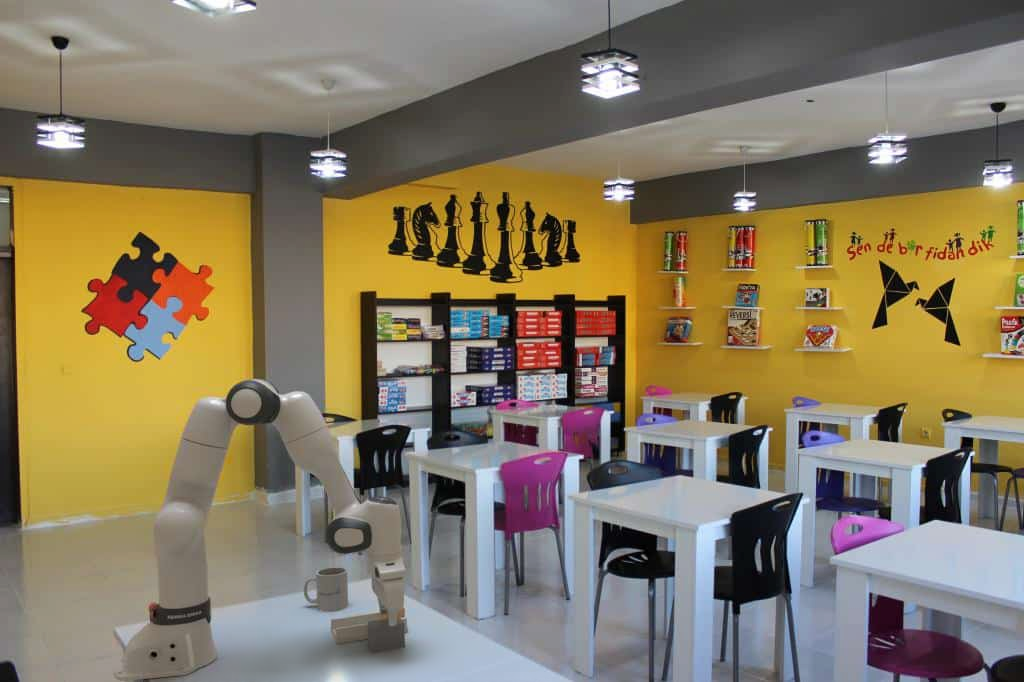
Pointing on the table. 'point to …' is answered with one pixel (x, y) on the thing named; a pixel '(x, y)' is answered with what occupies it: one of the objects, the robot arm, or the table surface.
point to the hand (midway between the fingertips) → (387, 619)
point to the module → (385, 635)
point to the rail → (358, 625)
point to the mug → (330, 589)
